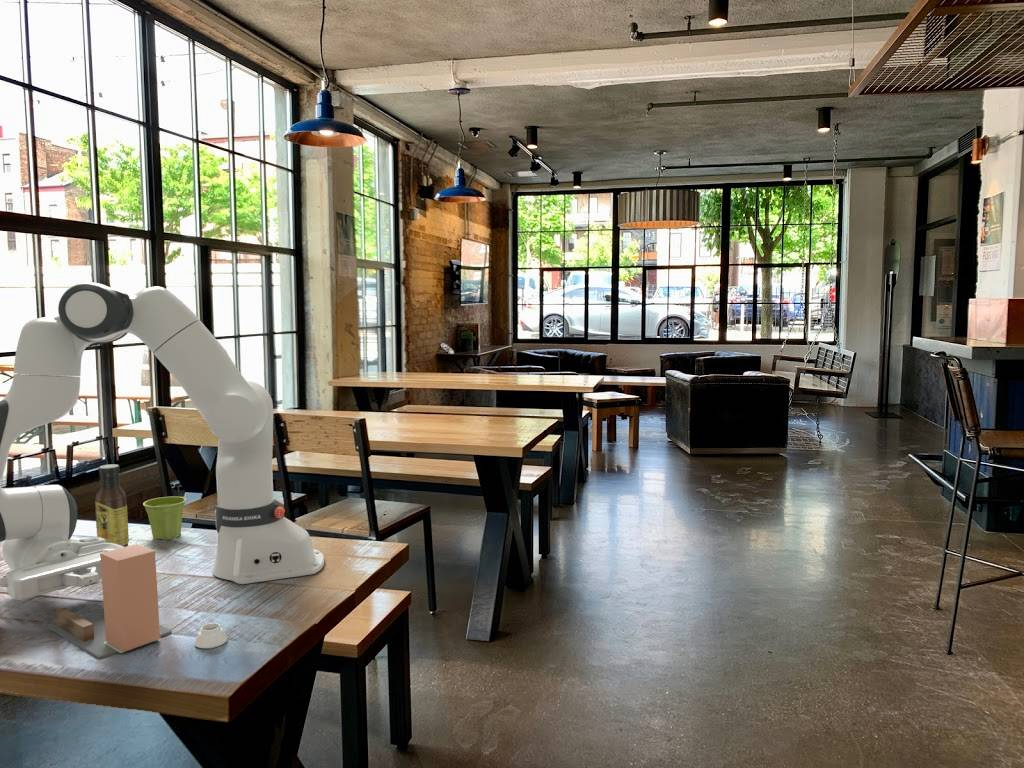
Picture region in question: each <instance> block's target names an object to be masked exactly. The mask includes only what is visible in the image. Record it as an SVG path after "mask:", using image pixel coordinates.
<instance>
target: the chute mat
mask: <svg viewBox="0 0 1024 768" xmlns="http://www.w3.org/2000/svg"><path fill="white" fill-rule="evenodd" d="M79 616H80V617H82V618H83V619H85V620H87V621H89V622H91V623H92V624H93V627H94V639H91V640H88V641H85V642H84V641H82V640H80V639H79V638H77V637H75V636H74V635H72V634H70V633H69V632H67V631H65V630H64V629H62V628H60V627H58V626H57V625H56V623H53V624H50V625H48V627H47V628H48V630H51V631H52V632H53V633H56V634H58V636H60V637H62V638H64V639H65V640H67V641H69V642H70V643H72V644H74V645H75V646H77V647H78V648H80V649H82V650H84V651H85V652H87V653H88V654H89V655H92V656H94V657H95V658H97V659H99V660H100V659H103V658H106V657H109V656H112V655H115V654H118V653H120V654H123V653H124V652H123V651H121V650H120V649H118V648H116V647H114V646H113V645H111V644H109V643H107V642H106V633H105V618H104V608H102V609H99V610H96V611H92V612H90V613H86V614H82V615H79ZM159 627H160V639H158V640H161V639H162V637H165V636H168V635H171V634H172V633H173V631H172V630H171V629H169V628H167V627H165V626H164V625H161V624H159ZM158 640H155V641H152V642H156V641H158ZM152 642H151V643H152ZM147 644H149V643H147ZM147 644H144V645H147ZM144 645H141V646H138V647H137V648H139V647H142V646H144ZM133 649H135V648H133ZM133 649H130V650H133ZM130 650H127V651H126V652H128V651H130Z"/></svg>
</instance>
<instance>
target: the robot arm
mask: <svg viewBox="0 0 1024 768" xmlns="http://www.w3.org/2000/svg"><path fill="white" fill-rule="evenodd" d="M57 307H58V308H57V310H58V313H57V314H58V315H57V316H54V317H53V316H52V317H50V316H43V317H37V318H34V319H31V320H29V321H28V322H26V323H25V324H24V325H23V327H22V329H21V330H20V331H21V332H20V334H19V337H18V342H17V344H16V345H17V346H16V349H15V356H14V364H13V365H14V366H13V376H12V378H13V379H12V382H11V385H10V388H9V391H8V392H7V394H6V395H5V397H4V398H3V399H2V400H0V543H1V542H3V544H2V548H1V553H2V554H1V555H2V558H3V561H4V562H5V564H6V565H7V567H9V569H10V570H9V571H7V572H6V573H5V575H4V576H2V578H0V588H6V593H7V594H8V595H9V597H11V598H12V600H15V601H24V600H28V599H31V598H34V597H38V596H42V595H45V594H49V593H52V592H56V591H60V590H64V589H67V588H70V587H79V588H81V589H83V588H86V587H88V586H93V585H96V584H97V585H98V584H99V583H100V579H102V574H101V559H100V553H103V552H107V551H111V550H115V549H119V548H123V546H120V545H118V544H114V543H106V540H105V539H104V538H97V537H93V538H83V539H71V538H72V536H73V534H74V533H75V530H76V527H77V523H78V507H77V503H76V501H75V498H74V497H73V496H72V494H71V493H70V492H69V491H68V490H67V489H66V488H65V487H64V486H62V485H60V484H41V485H31V486H21V487H20V486H19V487H5V488H4V487H1V486H2V481H3V478H4V472H5V469H6V466H7V461H8V456H9V453H10V450H11V447H12V445H13V443H14V442H15V441H16V440H17V439H18V438H19V437H20V436H21V435H23V434H25V433H27V432H28V431H29V432H30V431H31V430H33V429H36V428H38V427H41V426H44V425H47V424H51V423H53V422H55V421H58V420H59V419H61V418H63V417H64V416H66V415H67V414H68V413H69V412H70V411H72V410H73V408H74V407H75V406H76V404H77V403H78V400H79V397H80V396H79V395H80V390H81V371H82V370H81V366H82V359H83V358H82V357H83V354H84V351H85V350H86V348H87V347H88V348H89V347H94V346H95V347H96V346H99V345H103V344H110V343H113V342H117V341H118V340H119V341H120V340H121V339H122V338H124V337H126V336H127V334H128V333H129V334H132V335H133V336H136V337H137V338H138V339H139V340H141V342H143V344H144V345H145V346H146V347H147V348H148V349H149V350H150V351H151V353H152V354H153V355H154V356H155V357H156V358H157V360H159V362H160V363H161V365H163V366H164V367H165V369H167V371H168V372H169V373H170V374H171V375H172V376H173V378H174V379H175V380H176V382H178V383H179V385H180V387H182V389H183V390H184V392H185V393H186V395H187V396H188V398H189V399H190V402H191V403H192V404H193V405H194V407H195V408H196V410H197V412H198V413H199V415H200V416H201V417H202V419H203V420H204V421H205V423H206V424H207V426H208V428H209V430H210V432H211V433H212V434H213V435H214V436H215V437H216V438H217V439H218V441H217V455H216V456H217V457H216V465H215V477H216V493H217V494H216V495H217V496H216V497H217V504H216V506H215V511H214V514H215V515H214V518H215V528H216V532H217V544H216V545H217V546H216V554H215V560H214V564H213V569H212V575H213V576H215V577H216V578H219V579H223V580H228V581H232V582H234V583H236V584H238V585H246V584H253V583H259V582H267V581H275V580H283V579H287V578H288V579H289V578H294V577H295V578H296V577H302V576H309V575H314V574H317V573H318V572H320V571H321V570H322V569H323V567H324V565H325V557H324V554H323V552H321V551H320V550H319V549H315V548H314V545H313V541H312V538H311V536H310V534H309V531H307V530H306V529H304V528H303V527H301V526H300V525H297V524H296V523H294V522H293V521H292V520H290V519H288V518H286V517H285V512H286V509H285V506H284V502H283V500H280V501H279V500H276V499H274V482H273V479H274V478H273V477H274V476H273V446H274V441H273V440H274V403H273V402H274V401H273V398H272V396H271V394H270V393H269V391H268V390H267V389H266V388H265V387H264V386H262V385H260V384H259V383H256V382H253V381H248V380H246V378H245V377H244V376H243V375H242V373H241V372H240V370H239V369H238V368H237V366H236V365H235V363H234V362H233V360H232V358H231V357H230V356H229V353H228V352H227V350H226V348H224V347H223V345H222V344H221V343H220V342H219V341H218V339H217V338H216V337H215V335H214V334H212V332H211V331H210V330H209V329H208V328H207V327H206V326H205V324H204V323H203V322H202V321H201V319H200V318H199V317H198V316H197V315H196V314H195V313H194V312H193V310H191V308H189V307H188V306H187V305H186V304H185V303H184V302H183V301H182V300H181V299H179V298H178V297H177V296H176V295H175V294H173V293H172V292H171V291H169V290H168V289H167V288H165V287H163V286H156V285H155V286H150V287H149V286H148V287H146V288H143V289H141V290H139V291H138V292H136V293H135V294H133V295H128V294H127V293H126V292H122V291H121V290H117V289H114V288H113V287H110V286H108V285H105V284H103V283H99V282H90V281H86V282H81V283H76V284H75V285H73V286H71V287H69V288H68V289H67V290H66V291H65V292H64V293H63V294H62V295H61V297H60V299H59V302H58V306H57Z"/></svg>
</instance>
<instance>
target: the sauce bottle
mask: <svg viewBox="0 0 1024 768" xmlns="http://www.w3.org/2000/svg"><path fill="white" fill-rule="evenodd" d="M98 473H99V479H100V483H99V484H100V485H99V486H100V489H99V490H98V491H97V493H96V496H95V500H94V505H95V524H96V527H95V528H96V538H104V539H105V540H106V543H114V544H118V545H120V546H123V547H127V546H129V542H130V538H129V520H128V504H127V495H126V493H125V490H124V489H123V488H122V487H121V486H120V484H121V482H120V476H119V475H120V474H119V473H120V465H119V464H114V463H113V464H104V465H100V466H99V467H98Z"/></svg>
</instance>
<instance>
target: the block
mask: <svg viewBox="0 0 1024 768" xmlns="http://www.w3.org/2000/svg"><path fill="white" fill-rule="evenodd" d="M100 559H101V574H102V578H101V586H102V588H101V589H102V601H103V609H104V618H105V633H106V642H107V643H109V644H111V645H113V646H114V647H116V648H118V649H120V650H121V651H123V653H125V652H128V651H130V649H131V650H133V648H134V649H136V648H139V647H142V646H144V644H145V645H147V643H148V644H150V643H152V641H153V642H156V641H158V639H159V640H161V639H160V638H161V637H160V627H159V625H160V613H159V596H158V580H157V579H158V578H157V577H158V576H157V565H156V564H157V563H156V561H157V560H156V550H155V549H154V550H153V549H151V548H148V547H146V546H143V545H141V544H138V543H135V544H132V545H131V544H130V545H128V546H127V547H123V548H119V549H115V550H111V551H107V552H103V553H100ZM155 640H156V641H155ZM141 645H142V646H141ZM138 646H139V647H138ZM127 650H128V651H127Z"/></svg>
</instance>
